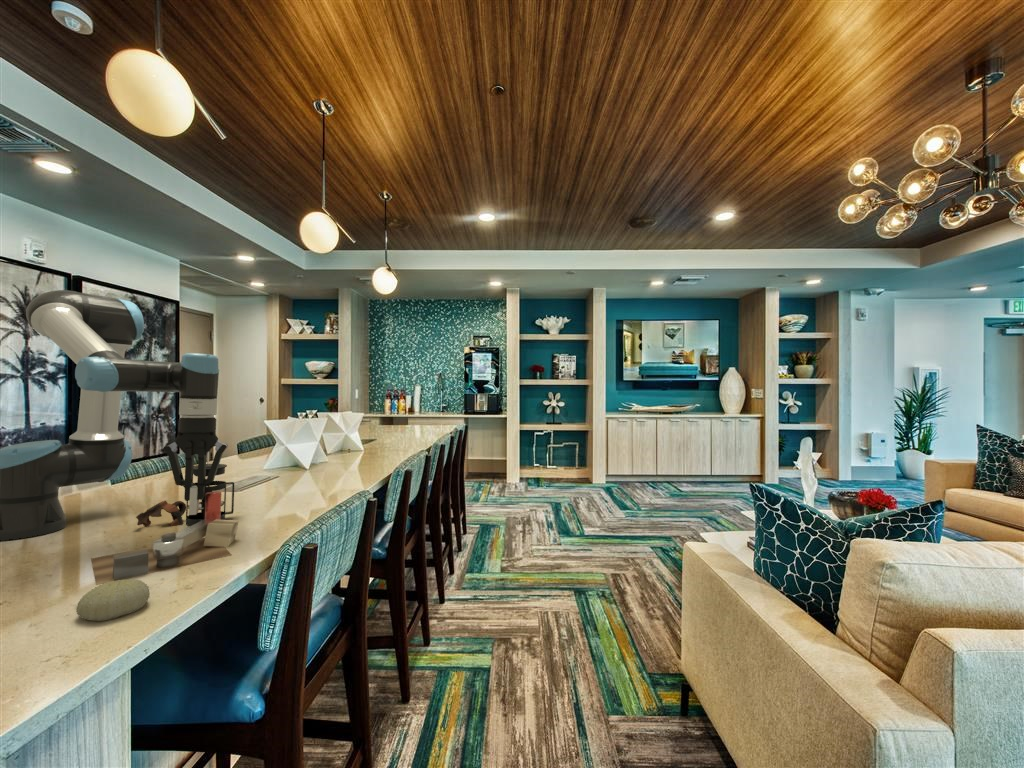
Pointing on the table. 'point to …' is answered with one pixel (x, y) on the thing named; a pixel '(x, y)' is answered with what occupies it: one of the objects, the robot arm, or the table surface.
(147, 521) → the broken mug
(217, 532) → the block
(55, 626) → the table surface
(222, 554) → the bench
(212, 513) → the lever
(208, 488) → the french press
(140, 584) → the olive grey stone
